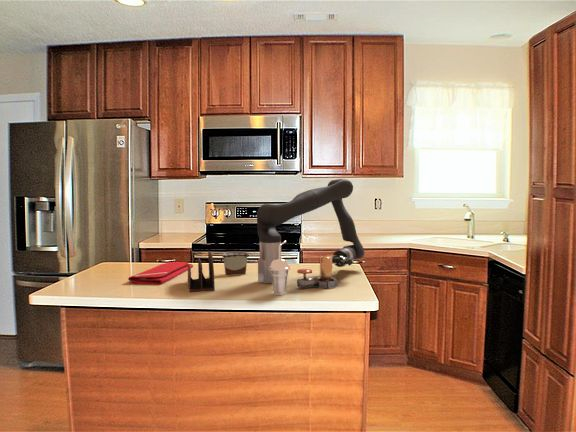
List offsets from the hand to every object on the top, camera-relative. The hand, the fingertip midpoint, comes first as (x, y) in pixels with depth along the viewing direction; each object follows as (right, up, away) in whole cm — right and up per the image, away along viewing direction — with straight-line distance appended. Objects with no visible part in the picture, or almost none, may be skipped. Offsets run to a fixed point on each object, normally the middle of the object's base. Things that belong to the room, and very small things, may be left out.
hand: (331, 263), depth 212 cm
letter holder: (-54, -9, -6) cm, 55 cm away
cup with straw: (-21, -10, -19) cm, 30 cm away
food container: (-43, -7, +20) cm, 48 cm away
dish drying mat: (-76, -8, +18) cm, 78 cm away
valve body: (-6, -9, -7) cm, 13 cm away
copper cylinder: (-3, -9, -5) cm, 11 cm away
